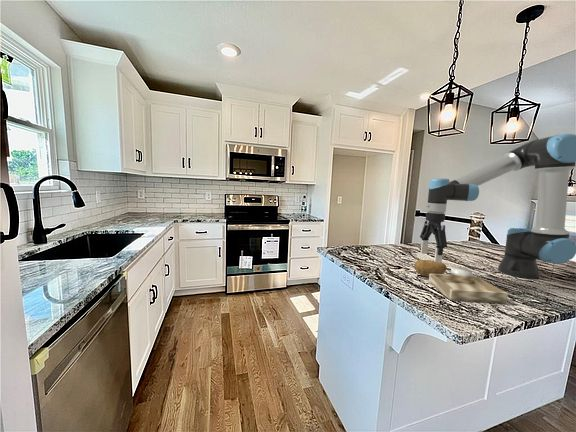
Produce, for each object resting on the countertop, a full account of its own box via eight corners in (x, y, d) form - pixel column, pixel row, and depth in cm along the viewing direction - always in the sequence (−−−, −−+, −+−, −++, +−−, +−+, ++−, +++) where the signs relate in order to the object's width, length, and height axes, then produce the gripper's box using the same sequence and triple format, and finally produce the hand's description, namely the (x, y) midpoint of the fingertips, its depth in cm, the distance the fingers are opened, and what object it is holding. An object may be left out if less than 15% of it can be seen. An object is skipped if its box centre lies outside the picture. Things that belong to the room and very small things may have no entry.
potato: (450, 281, 110) (452, 264, 109) (418, 279, 111) (420, 262, 110) (439, 273, 119) (441, 258, 118) (409, 272, 121) (411, 256, 120)
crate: (474, 284, 107) (476, 276, 106) (506, 303, 89) (508, 293, 89) (428, 282, 108) (429, 273, 108) (450, 300, 91) (451, 290, 91)
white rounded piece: (464, 275, 118) (465, 267, 117) (475, 282, 110) (476, 273, 109) (446, 274, 118) (447, 266, 118) (456, 281, 110) (457, 272, 110)
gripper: (415, 209, 124) (411, 250, 127) (441, 215, 99) (435, 265, 102) (431, 210, 123) (426, 250, 126) (461, 216, 99) (454, 266, 101)
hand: (430, 257), depth 114 cm, fingers open, 13 cm apart
